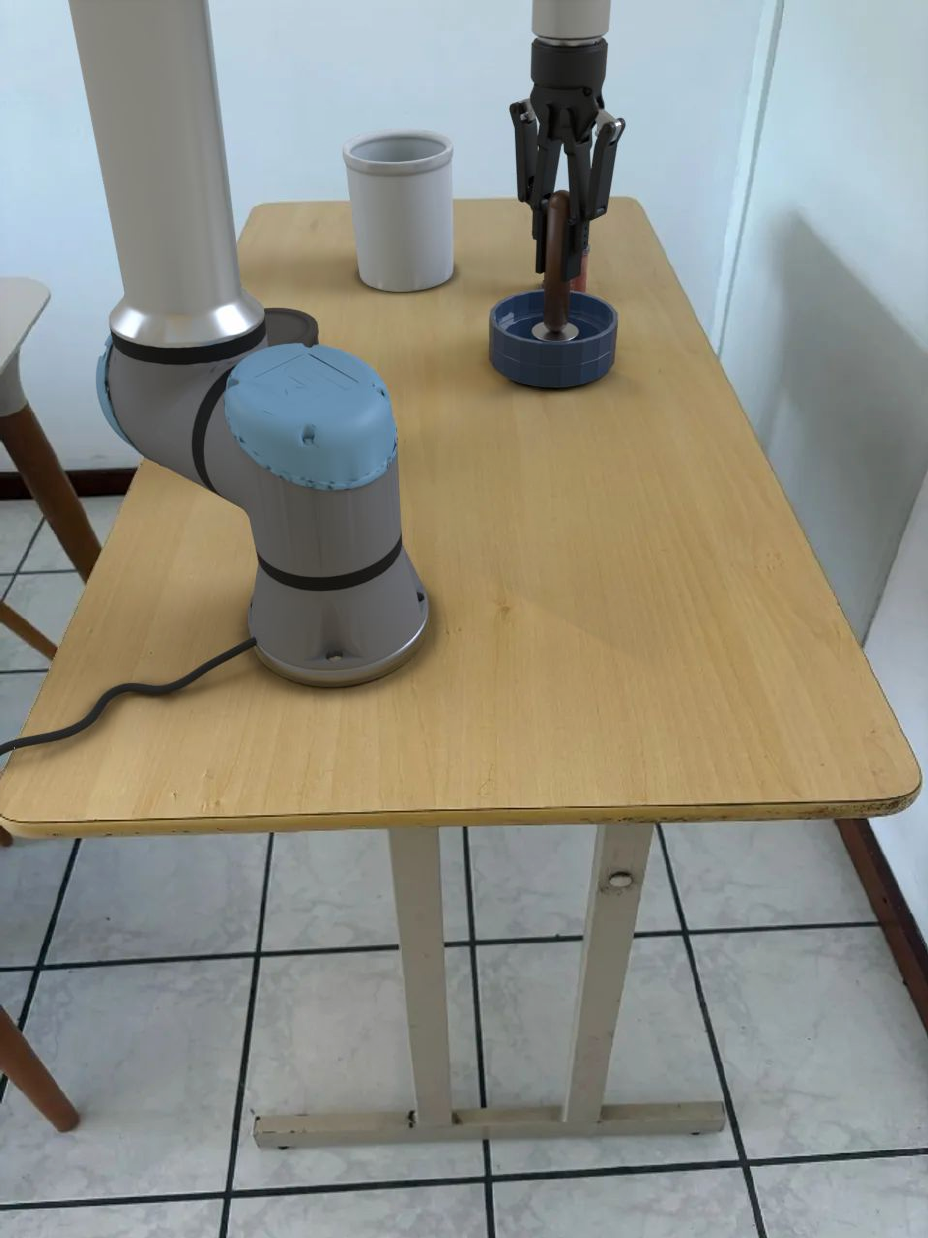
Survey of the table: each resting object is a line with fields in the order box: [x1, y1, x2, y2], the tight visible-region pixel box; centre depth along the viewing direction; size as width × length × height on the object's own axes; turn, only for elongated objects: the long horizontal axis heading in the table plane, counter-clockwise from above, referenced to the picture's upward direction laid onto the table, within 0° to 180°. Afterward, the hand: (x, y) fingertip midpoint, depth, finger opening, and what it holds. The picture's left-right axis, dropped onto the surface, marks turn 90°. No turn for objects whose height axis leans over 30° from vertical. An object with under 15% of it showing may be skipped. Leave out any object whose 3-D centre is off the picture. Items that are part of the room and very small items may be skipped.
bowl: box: [488, 288, 619, 388], centre depth 116 cm, size 15×15×6 cm
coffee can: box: [263, 307, 320, 348], centre depth 98 cm, size 10×10×14 cm
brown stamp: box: [531, 189, 579, 342], centre depth 109 cm, size 6×6×18 cm
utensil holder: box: [342, 128, 454, 293], centre depth 133 cm, size 15×15×18 cm
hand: (557, 273), depth 109 cm, fingers closed on brown stamp, 3 cm apart
